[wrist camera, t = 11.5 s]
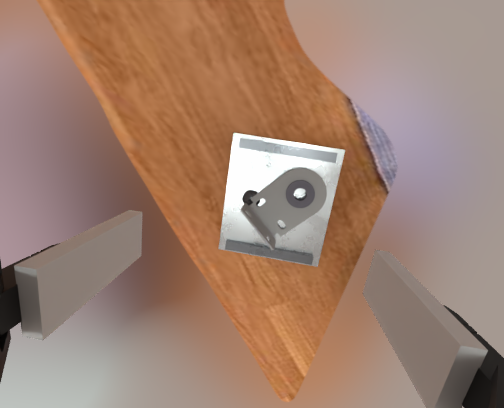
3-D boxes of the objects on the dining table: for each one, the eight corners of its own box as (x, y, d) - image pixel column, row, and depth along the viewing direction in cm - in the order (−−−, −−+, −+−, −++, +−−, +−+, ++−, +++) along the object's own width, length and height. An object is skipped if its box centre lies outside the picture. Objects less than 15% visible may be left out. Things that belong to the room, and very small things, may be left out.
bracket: (335, 197, 33) (342, 204, 29) (273, 240, 35) (272, 251, 32) (305, 156, 32) (309, 158, 28) (243, 203, 34) (239, 210, 31)
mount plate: (234, 132, 33) (232, 132, 31) (343, 149, 32) (347, 150, 30) (220, 246, 37) (217, 251, 35) (316, 263, 36) (318, 269, 34)
